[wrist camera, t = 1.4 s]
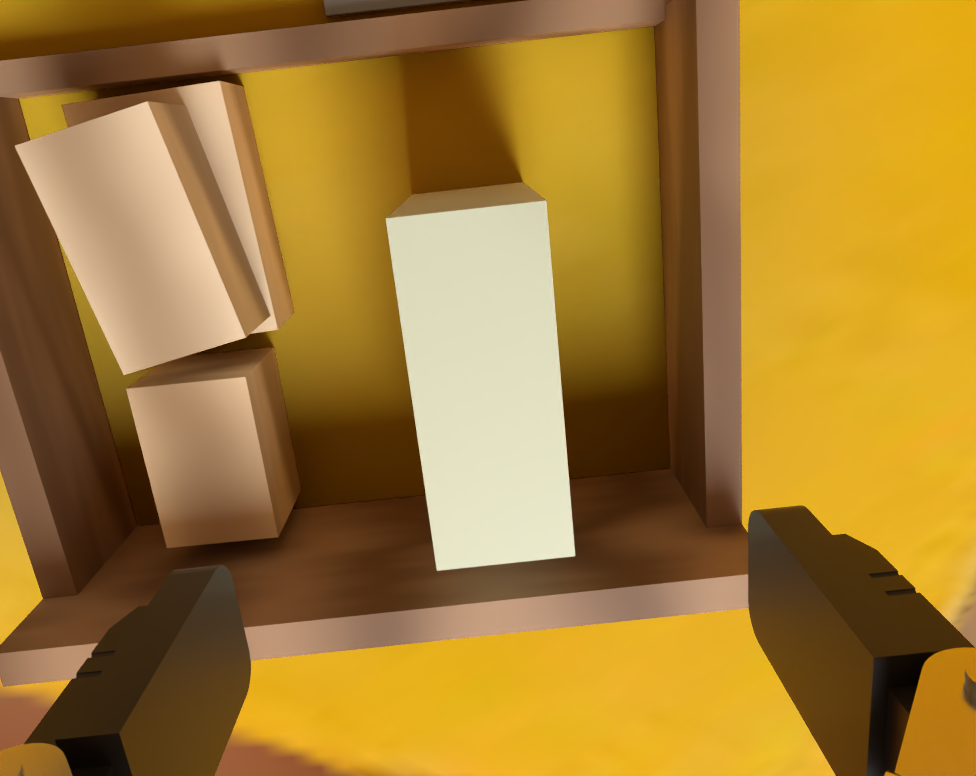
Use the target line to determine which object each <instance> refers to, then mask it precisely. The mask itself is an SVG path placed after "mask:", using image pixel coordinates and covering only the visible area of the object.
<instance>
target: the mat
mask: <svg viewBox="0 0 976 776" xmlns="http://www.w3.org/2000/svg"><path fill="white" fill-rule="evenodd" d="M466 1H475V0H323V2H324V8H325V15H326V16H327V17H336V16H344V15H353V14H362V13H370V12H379V11H388V10H397V9H405V8H414V7H423V6H431V5H440V4H449V3H458V2H466Z"/></svg>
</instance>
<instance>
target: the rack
mask: <svg viewBox="0 0 976 776" xmlns="http://www.w3.org/2000/svg"><path fill="white" fill-rule="evenodd" d="M650 26H654V27H655V55H656V83H657V111H658V138H659V166H660V194H661V221H662V249H663V277H664V305H665V332H666V360H667V388H668V415H669V443H670V469H662V470H653V471H643V472H634V473H625V474H615V475H606V476H597V477H588V478H578V479H569V485H570V497H571V509H572V522H573V534H574V546H575V556H573V557H563V558H554V559H544V560H535V561H525V562H516V563H506V564H497V565H487V566H478V567H468V568H459V569H450V570H440V571H437V568H436V561H435V554H434V548H433V541H432V534H431V527H430V520H429V513H428V506H427V500H426V495H420V496H411V497H402V498H392V499H383V500H374V501H364V502H355V503H346V504H336V505H327V506H318V507H309V508H299V509H292V510H291V512H290V514H289V516H288V518H287V520H286V522H285V524H284V527H283V529H282V531H281V533H280V535H279V537H276V538H265V539H255V540H245V541H235V542H225V543H215V544H204V545H194V546H184V547H174V548H167V547H166V543H165V539H164V535H163V531H162V527H161V523H160V524H150V525H141V526H137V523H136V520H135V516H134V512H133V509H132V505H131V502H130V498H129V494H128V491H127V487H126V484H125V480H124V476H123V473H122V469H121V466H120V462H119V459H118V455H117V451H116V448H115V444H114V441H113V437H112V433H111V430H110V426H109V423H108V419H107V415H106V412H105V408H104V405H103V401H102V398H101V394H100V390H99V387H98V383H97V380H96V376H95V372H94V369H93V365H92V362H91V358H90V354H89V351H88V347H87V344H86V340H85V337H84V333H83V329H82V326H81V322H80V319H79V315H78V311H77V308H76V304H75V301H74V297H73V293H72V290H71V286H70V283H69V279H68V275H67V272H66V268H65V265H64V261H63V258H62V254H61V250H60V247H59V243H58V240H57V236H56V232H55V230H54V228H53V226H52V223H51V221H50V219H49V217H48V215H47V213H46V211H45V209H44V207H43V205H42V202H41V200H40V198H39V196H38V194H37V192H36V190H35V188H34V186H33V184H32V181H31V179H30V177H29V175H28V173H27V171H26V169H25V167H24V165H23V163H22V160H21V158H20V156H19V154H18V152H17V150H16V148H15V145H18V144H21V143H24V142H27V141H30V139H29V136H28V132H27V128H26V125H25V121H24V118H23V114H22V110H21V107H20V103H19V100H18V99H19V98H28V97H37V96H45V95H54V94H63V93H72V92H80V91H89V90H98V89H107V88H116V87H124V86H133V85H142V84H151V83H159V82H168V81H177V80H186V79H194V78H203V77H212V76H221V75H230V74H238V73H247V72H256V71H265V70H273V69H282V68H291V67H300V66H308V65H317V64H326V63H335V62H344V61H352V60H361V59H370V58H379V57H387V56H396V55H405V54H414V53H422V52H431V51H440V50H449V49H458V48H466V47H475V46H484V45H493V44H501V43H510V42H519V41H528V40H536V39H545V38H554V37H563V36H572V35H580V34H589V33H598V32H607V31H615V30H624V29H633V28H642V27H650ZM0 471H1V474H2V477H3V480H4V483H5V486H6V489H7V492H8V495H9V498H10V501H11V504H12V507H13V510H14V513H15V516H16V519H17V522H18V525H19V528H20V531H21V534H22V537H23V540H24V543H25V546H26V549H27V552H28V555H29V558H30V561H31V564H32V567H33V570H34V573H35V576H36V579H37V582H38V585H39V588H40V591H41V594H42V597H43V600H42V601H41V602H40V603H39V604H38V605H37V606H36V607H35V608H34V609H33V610H32V612H31V613H30V614H29V615H28V616H27V617H26V618H25V619H24V620H23V621H22V622H21V623H20V624H19V626H18V627H17V628H16V629H15V630H14V631H13V632H12V633H11V634H10V635H9V636H8V637H7V638H6V639H5V641H4V642H3V643H2V644H1V645H0V679H1V681H2V684H3V687H4V686H13V685H23V684H32V683H42V682H51V681H61V680H70V679H74V678H76V673H77V672H78V670H79V669H80V667H81V666H82V665H83V663H84V662H85V661H86V659H87V658H91V653H92V651H93V650H94V649H95V647H96V646H97V644H98V643H99V642H100V640H101V639H102V638H103V636H104V635H105V634H106V632H107V631H108V630H109V628H111V627H112V626H113V625H115V624H116V623H117V622H119V621H120V620H121V619H122V618H124V617H125V616H126V615H128V614H129V613H130V612H132V611H133V610H134V609H135V608H137V607H138V606H146V605H148V604H149V603H150V601H151V600H152V598H153V597H154V596H155V594H156V593H157V591H158V590H159V588H160V587H161V586H162V584H163V583H164V581H165V580H166V578H167V577H168V575H169V574H170V573H171V572H172V571H173V570H178V569H187V568H197V567H206V566H216V565H225V566H226V567H227V568H228V569H229V571H230V573H231V576H232V579H233V583H234V587H235V592H236V596H237V600H238V604H239V609H240V613H241V617H242V621H243V626H244V630H245V634H246V638H247V643H248V647H249V652H250V660H260V659H269V658H279V657H288V656H298V655H307V654H317V653H326V652H336V651H345V650H355V649H364V648H374V647H383V646H393V645H402V644H412V643H421V642H431V641H440V640H450V639H459V638H469V637H478V636H488V635H497V634H507V633H516V632H526V631H535V630H545V629H554V628H564V627H573V626H583V625H592V624H602V623H611V622H621V621H630V620H640V619H649V618H659V617H668V616H678V615H687V614H696V613H706V612H715V611H725V610H734V609H744V608H749V604H748V532H747V531H746V530H745V528H744V527H743V525H742V443H741V228H740V13H739V0H526V1H518V2H509V3H500V4H492V5H483V6H474V7H465V8H457V9H448V10H439V11H430V12H422V13H413V14H404V15H396V16H387V17H378V18H369V19H361V20H352V21H343V22H335V23H326V24H317V25H308V26H300V27H291V28H282V29H273V30H265V31H256V32H247V33H239V34H230V35H221V36H212V37H204V38H195V39H186V40H177V41H169V42H160V43H151V44H143V45H134V46H125V47H116V48H108V49H99V50H90V51H82V52H73V53H64V54H55V55H47V56H38V57H29V58H20V59H12V60H3V61H0Z"/></svg>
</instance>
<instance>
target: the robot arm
mask: <svg viewBox="0 0 976 776" xmlns="http://www.w3.org/2000/svg"><path fill="white" fill-rule="evenodd" d="M748 604H749V613H750V618H751V622H752V626H753V630H754V633H755V635H756V638H757V640H758V642H759V644H760V646H761V648H762V649H763V651H764V653H765V654H766V656H767V658H768V660H769V661H770V663H771V665H772V666H773V668H774V670H775V672H776V673H777V675H778V677H779V679H780V680H781V682H782V684H783V685H784V687H785V689H786V691H787V692H788V694H789V696H790V697H791V699H792V701H793V703H794V704H795V706H796V708H797V709H798V711H799V713H800V715H801V716H802V718H803V720H804V721H805V723H806V725H807V727H808V728H809V730H810V732H811V734H812V735H813V737H814V739H815V740H816V742H817V744H818V746H819V747H820V749H821V751H822V752H823V754H824V756H825V758H826V759H827V761H828V763H829V764H830V766H831V768H832V770H833V771H834V773H835V775H836V776H976V648H975V647H974V646H973V645H972V644H971V643H970V642H969V641H968V640H967V639H966V638H964V636H963V635H962V634H961V633H960V632H959V631H958V630H957V629H956V628H955V627H954V626H953V625H952V624H951V623H950V622H949V621H948V620H947V619H946V618H945V617H944V616H943V615H942V614H941V613H940V612H939V611H938V610H937V609H936V608H935V607H934V606H933V605H932V604H931V603H930V602H929V601H928V600H927V599H926V598H925V597H924V596H923V595H922V594H921V593H916V591H915V587H914V586H913V585H912V584H910V583H909V582H908V581H907V580H906V579H905V578H904V577H903V576H902V575H898V571H897V570H896V569H895V568H894V567H893V566H892V565H891V564H890V563H889V562H888V561H887V560H886V559H885V558H884V557H883V556H882V555H881V554H880V553H879V552H878V551H877V550H876V549H874V548H872V547H870V546H868V545H866V544H864V543H862V542H860V541H858V540H856V539H854V538H852V537H850V536H848V535H846V534H839V535H832V534H831V533H830V532H829V531H828V530H827V529H826V528H825V527H824V526H823V525H822V524H821V523H820V522H819V520H818V519H817V518H816V517H815V516H814V515H813V514H812V513H811V512H810V511H809V510H808V509H807V508H806V507H805V506H791V507H782V508H772V509H763V510H754V511H752V512H751V514H750V517H749V523H748ZM250 674H251V661H250V652H249V647H248V643H247V638H246V634H245V630H244V626H243V621H242V617H241V613H240V609H239V604H238V600H237V596H236V592H235V587H234V583H233V579H232V576H231V573H230V571H229V569H228V568H227V567H226V566H225V565H216V566H206V567H197V568H187V569H178V570H173V571H172V572H171V573H170V574H169V575H168V577H167V578H166V580H165V581H164V583H163V584H162V586H161V587H160V588H159V590H158V591H157V593H156V594H155V596H154V597H153V598H152V600H151V601H150V603H149V604H148V605H146V606H138V607H137V608H135V609H134V610H133V611H132V612H130V613H129V614H128V615H126V616H125V617H124V618H122V619H121V620H120V621H119V622H117V623H116V624H115V625H113V626H112V627H111V628H109V630H108V631H107V632H106V634H105V635H104V636H103V638H102V639H101V640H100V642H99V643H98V644H97V646H96V647H95V649H94V650H93V651H92V653H91V658H87V659H86V661H85V662H84V663H83V665H82V666H81V667H80V669H79V670H78V672H77V673H76V678H74V679H72V680H71V681H70V682H69V684H68V685H67V686H66V688H65V689H64V690H63V692H62V693H61V695H60V696H59V697H58V699H57V700H56V701H55V703H54V704H53V705H52V707H51V708H50V709H49V711H48V712H47V713H46V715H45V716H44V718H43V719H42V720H41V722H40V723H39V724H38V726H37V727H36V729H35V730H34V731H33V732H32V734H31V735H30V737H29V738H28V739H27V741H26V742H25V743H24V744H23V745H18V746H14V747H10V748H7V749H5V750H1V751H0V776H214V775H215V772H216V770H217V767H218V765H219V762H220V760H221V757H222V755H223V752H224V750H225V747H226V745H227V742H228V740H229V738H230V735H231V733H232V730H233V728H234V725H235V723H236V720H237V718H238V715H239V713H240V710H241V708H242V705H243V703H244V700H245V698H246V695H247V692H248V688H249V683H250Z"/></svg>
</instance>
